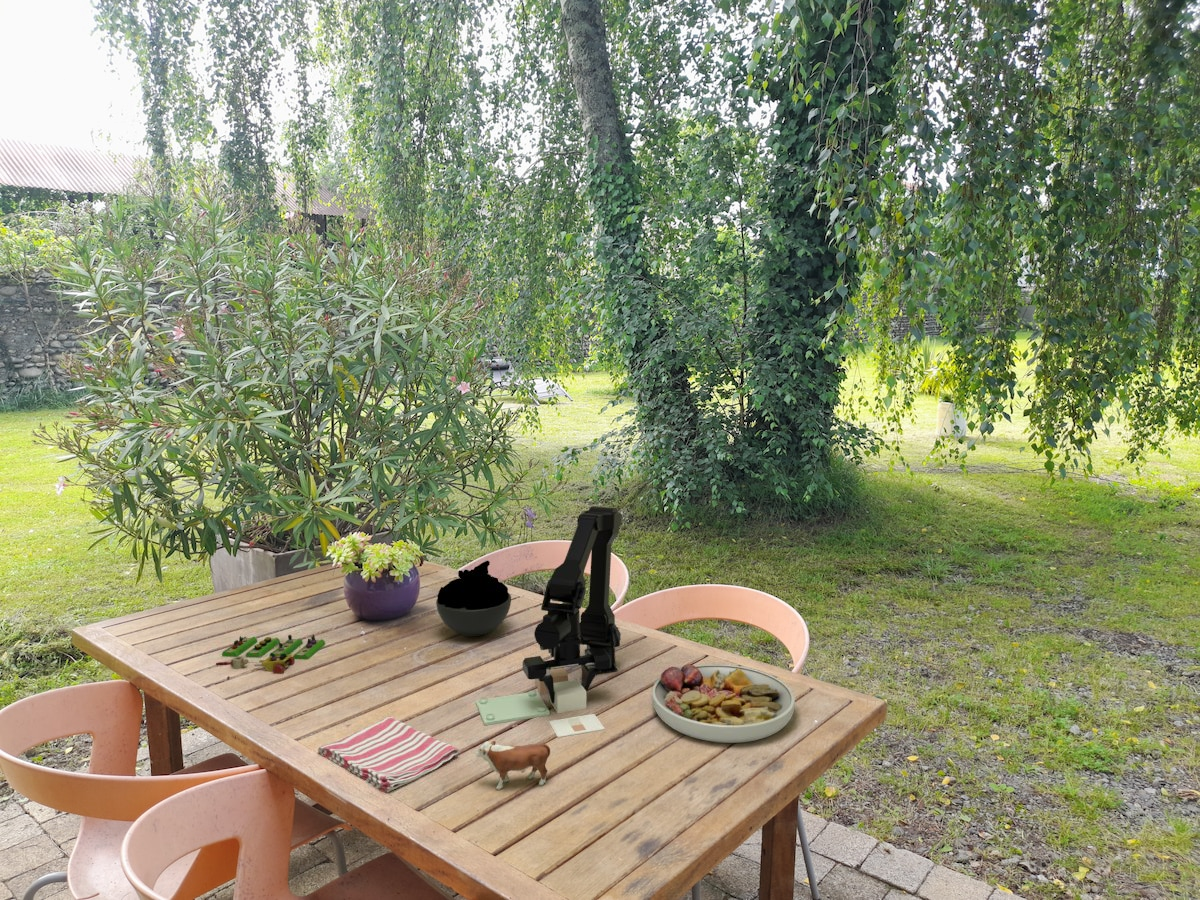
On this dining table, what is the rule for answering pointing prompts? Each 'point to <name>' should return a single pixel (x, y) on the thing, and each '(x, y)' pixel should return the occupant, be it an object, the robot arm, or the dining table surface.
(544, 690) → the terracotta brick
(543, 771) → the bull figurine
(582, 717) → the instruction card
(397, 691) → the dining table surface
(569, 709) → the cream brick
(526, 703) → the plate
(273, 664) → the toy garden set
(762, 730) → the bowl
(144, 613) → the dining table surface
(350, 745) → the dish towel
